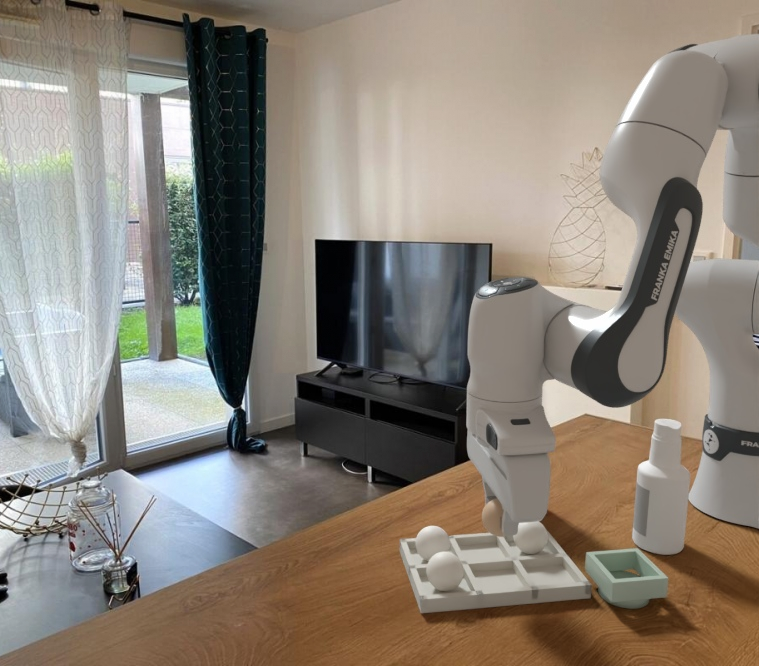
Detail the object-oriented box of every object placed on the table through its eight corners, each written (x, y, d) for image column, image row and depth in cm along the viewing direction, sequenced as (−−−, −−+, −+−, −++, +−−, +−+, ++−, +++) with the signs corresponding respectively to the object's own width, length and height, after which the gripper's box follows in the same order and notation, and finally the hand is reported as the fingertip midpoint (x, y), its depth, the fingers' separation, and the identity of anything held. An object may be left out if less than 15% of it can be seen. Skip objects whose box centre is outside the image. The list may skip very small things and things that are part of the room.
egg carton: (545, 540, 96) (545, 528, 96) (590, 598, 82) (591, 584, 82) (399, 551, 93) (399, 539, 93) (420, 613, 79) (421, 599, 79)
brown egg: (511, 523, 86) (512, 490, 85) (524, 542, 82) (525, 507, 81) (477, 526, 85) (477, 493, 84) (487, 545, 81) (488, 510, 80)
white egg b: (457, 576, 86) (458, 543, 85) (467, 597, 81) (468, 562, 80) (422, 579, 85) (423, 546, 84) (430, 600, 81) (431, 565, 80)
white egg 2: (539, 542, 94) (540, 511, 93) (552, 559, 90) (554, 527, 89) (507, 544, 94) (509, 514, 93) (519, 561, 89) (520, 530, 88)
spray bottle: (658, 528, 99) (668, 412, 96) (694, 550, 93) (707, 427, 90) (621, 536, 97) (630, 417, 94) (656, 559, 91) (667, 433, 87)
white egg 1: (445, 549, 92) (445, 518, 91) (453, 567, 88) (454, 534, 87) (412, 551, 92) (412, 520, 91) (419, 569, 87) (419, 537, 86)
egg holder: (635, 576, 87) (637, 548, 86) (665, 608, 80) (668, 578, 79) (584, 580, 86) (586, 552, 85) (610, 613, 79) (612, 582, 78)
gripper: (456, 390, 90) (455, 486, 93) (505, 447, 70) (501, 567, 73) (501, 388, 91) (499, 483, 94) (562, 443, 71) (557, 562, 74)
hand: (500, 520), depth 83 cm, fingers closed on brown egg, 5 cm apart
